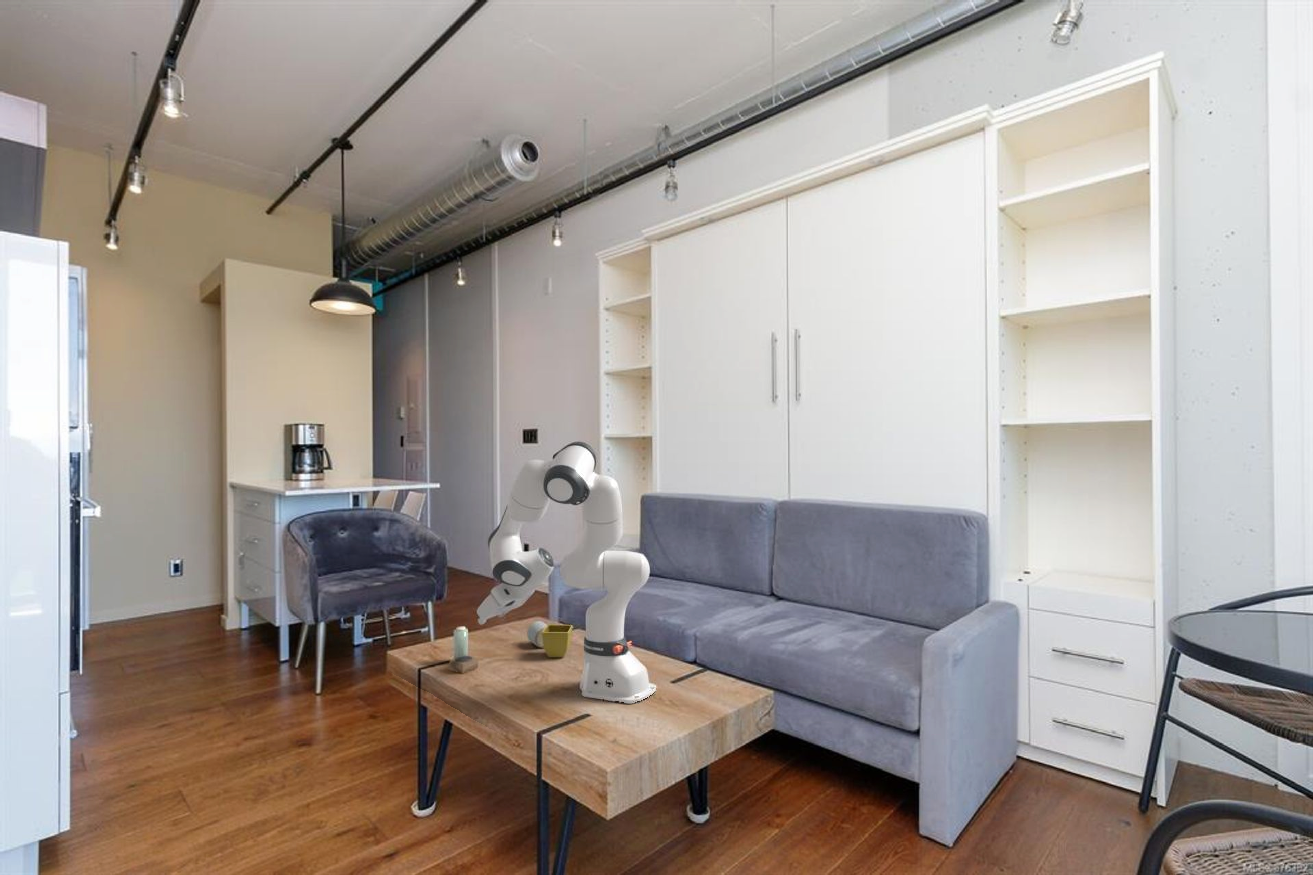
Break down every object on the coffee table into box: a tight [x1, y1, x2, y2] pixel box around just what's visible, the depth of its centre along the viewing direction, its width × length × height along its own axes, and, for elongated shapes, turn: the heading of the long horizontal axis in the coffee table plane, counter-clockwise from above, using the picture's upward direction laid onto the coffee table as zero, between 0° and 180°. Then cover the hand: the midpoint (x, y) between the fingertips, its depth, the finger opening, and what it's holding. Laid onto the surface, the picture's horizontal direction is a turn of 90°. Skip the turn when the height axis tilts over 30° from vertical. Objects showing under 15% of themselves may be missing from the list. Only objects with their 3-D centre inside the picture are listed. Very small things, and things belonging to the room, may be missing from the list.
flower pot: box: [542, 624, 573, 658], centre depth 214 cm, size 9×9×9 cm
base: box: [448, 655, 479, 674], centre depth 200 cm, size 6×6×3 cm
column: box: [453, 626, 469, 659], centre depth 207 cm, size 4×4×11 cm
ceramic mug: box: [526, 620, 548, 649], centre depth 225 cm, size 11×8×8 cm
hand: (490, 618), depth 202 cm, fingers open, 8 cm apart
